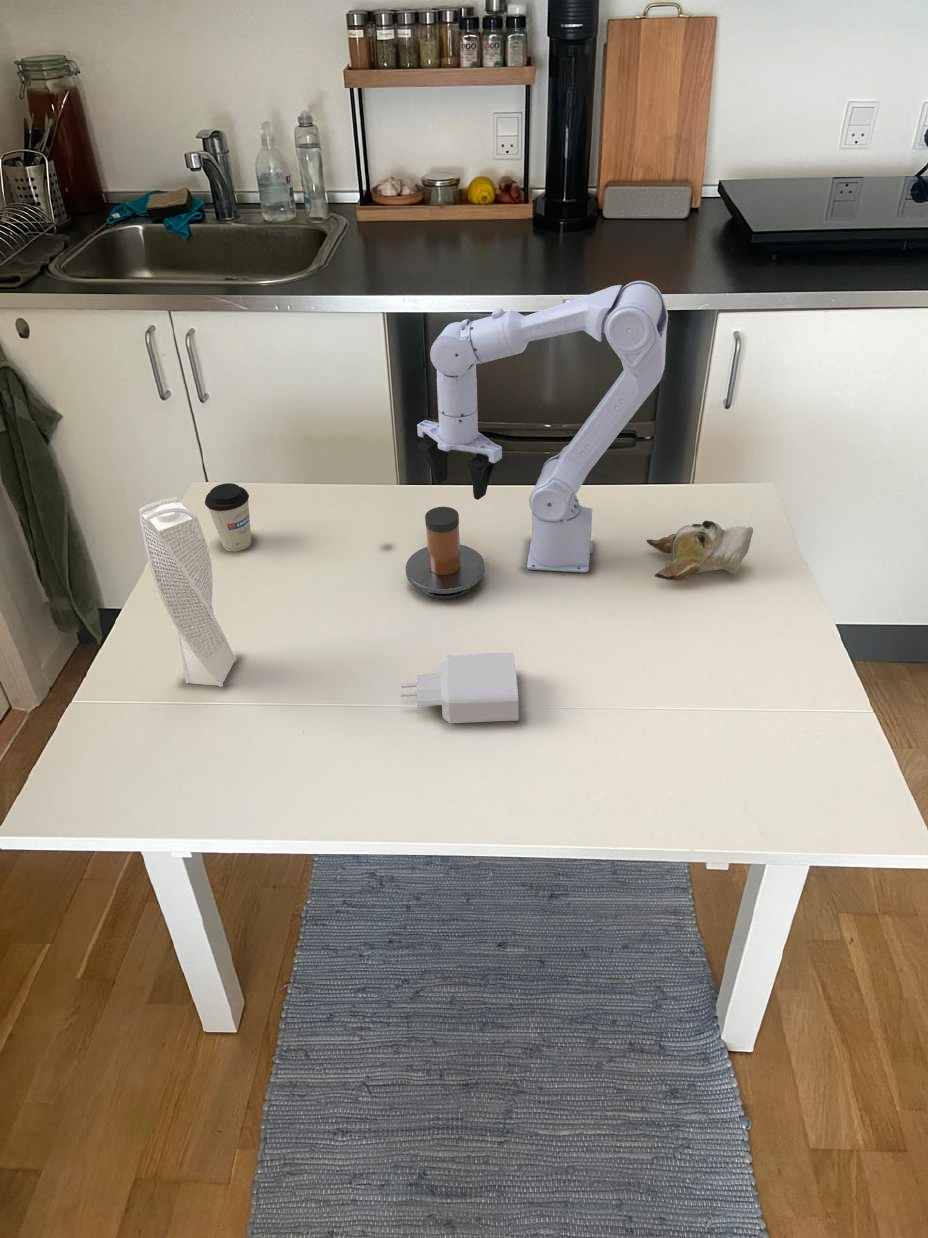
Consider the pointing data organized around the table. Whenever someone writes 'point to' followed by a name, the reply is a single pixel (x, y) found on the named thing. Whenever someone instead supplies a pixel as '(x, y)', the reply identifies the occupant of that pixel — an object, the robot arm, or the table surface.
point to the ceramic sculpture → (703, 549)
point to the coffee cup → (230, 515)
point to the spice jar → (443, 540)
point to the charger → (471, 688)
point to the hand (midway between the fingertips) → (460, 488)
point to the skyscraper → (186, 589)
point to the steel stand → (445, 584)
